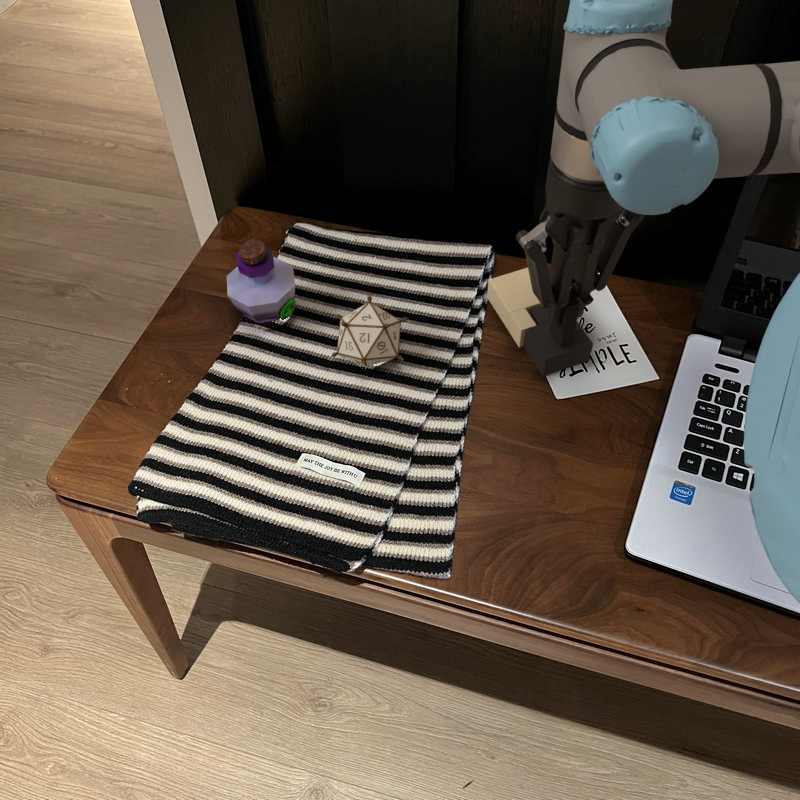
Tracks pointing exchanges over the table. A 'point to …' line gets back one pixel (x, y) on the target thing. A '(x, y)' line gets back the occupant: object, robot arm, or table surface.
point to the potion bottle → (261, 284)
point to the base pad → (514, 302)
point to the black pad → (554, 345)
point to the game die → (369, 335)
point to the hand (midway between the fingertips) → (560, 337)
